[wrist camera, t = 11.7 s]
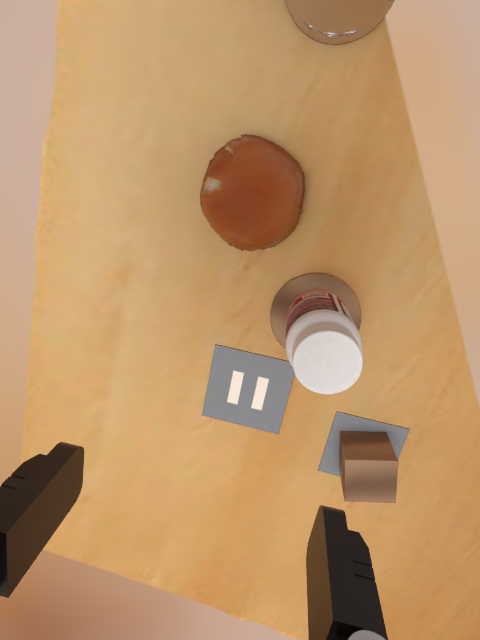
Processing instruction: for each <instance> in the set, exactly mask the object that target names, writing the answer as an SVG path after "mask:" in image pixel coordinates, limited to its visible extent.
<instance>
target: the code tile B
mask: <svg viewBox="0 0 480 640" xmlns="http://www.w3.org/2000/svg"><path fill="white" fill-rule="evenodd" d="M409 430H410V429H407V428H403V427H399V426H395V425H390V424H386V423H382V422H378V421H374V420H370V419H365V418H361V417H357V416H353V415H349V414H344V413H340V412H336V415H335V418H334V421H333V424H332V428H331V431H330V434H329V437H328V440H327V443H326V447H325V450H324V453H323V456H322V459H321V462H320V465H319V469H318V471H321V472H325V473H329V474H333V475H337V476H340V471H339V438H340V431H359V432H387V434H388V437H389V439H390V442H391V444H392V447H393V449H394V452H395V455H396V457H397V460H398V458H399V455H400V453H401V450H402V447H403V445H404V442H405V440H406V437H407V435H408V432H409Z"/></svg>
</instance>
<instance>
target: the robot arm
mask: <svg viewBox="0 0 480 640" xmlns="http://www.w3.org/2000/svg"><path fill="white" fill-rule="evenodd" d="M393 2H394V0H286V4H287V6H288V9H289V12H290V15H291V16H292V18H293V20H294V21H295V23H296V24H297V26H298V27H299V28H300V29H301V30H302V31H303V32H304V33H305V34H306V35H308V36H310V37H311V38H313V39H314V40H317V41H320V42H323V43H326V44H342V43H348V42H351V41H354V40H356V39H358V38H361V37H363V36H364V35H366V34H367V33H368V32H370V31H371V30H373V29H374V28H375V27H376V26H377V25H378V24H379V23H380V22H381V21H382V19H383V18H384V17H385V15H386V14H387V12H388V11H389V9H390V8H391V6H392V4H393ZM83 464H84V448H83V447H81V446H76V445H72V444H68V443H64V442H60V443H58V444H57V445H56V446H55V447H54V448H53V449H52V450H51V451H50V452H49V454H48V455H42V454H38V455H36V456H35V457H33V458H31V459H29V460H27V461H25V462H24V463H22V464H21V465H20V466H19V468H17V470H15V472H13V473H12V475H11V477H8V479H6V480H5V481H4V482H3V483H2V485H1V487H0V596H4V597H7V598H9V596H10V594H11V593H12V592H13V590H14V589H15V587H16V586H17V585H18V583H19V582H20V580H21V579H22V577H23V576H24V575H25V573H26V572H27V570H28V569H29V568H30V566H31V565H32V563H33V562H34V561H35V559H36V558H37V556H38V554H39V553H40V552H41V551H42V549H43V548H44V546H45V545H46V544H47V542H48V541H49V539H50V538H51V536H52V535H53V534H54V532H55V531H56V529H57V528H58V526H59V525H60V524H61V522H62V521H63V519H64V518H65V517H66V515H67V514H68V512H69V511H70V509H71V508H72V507H73V505H74V504H75V502H76V500H77V499H78V496H79V494H80V491H81V488H82V483H83ZM306 569H307V598H308V628H309V640H388V637H387V634H386V629H385V624H384V619H383V614H382V610H381V605H380V600H379V595H378V591H377V586H376V582H375V576H374V572H373V568H372V562H371V557H370V553H369V548H368V547H367V545H366V543H365V542H364V540H363V538H362V537H361V535H360V533H359V532H355V531H351V530H348V528H347V522H346V516H345V512H344V511H343V510H339V509H335V508H331V507H327V506H322V505H321V506H320V507H319V509H318V512H317V515H316V519H315V522H314V525H313V528H312V532H311V535H310V538H309V542H308V547H307V556H306Z"/></svg>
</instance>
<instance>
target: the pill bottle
mask: <svg viewBox="0 0 480 640" xmlns="http://www.w3.org/2000/svg"><path fill="white" fill-rule="evenodd" d="M285 344H286V354H287V357H288V360H289V362H290V364H291V365H292V367H293V370H294V373H295V375H296V377H297V379H298V380H299V382H300V383H301V384H302V385H303V386H305V387H306V388H307V389H309V390H311V391H313V392H316V393H320V394H335V393H339V392H342V391H344V390H346V389H347V388H349V387H350V386H352V385H353V384H354V383H355V382H356V380H357V379H358V378H359V376H360V374H361V371H362V367H363V357H362V353H361V350H362V342H361V337H360V334H359V331H358V329H357V327H356V325H355V323H354V321H353V319H352V317H351V315H350V313H349V311H348V309H347V307H346V306H345V304H344V303H343V301H342V300H341V299H340V298H339V297H337V296H336V295H334V294H333V293H330V292H328V291H324V290H313V291H309V292H306V293H304V294H302V295H300V296H299V297H297V298H296V299H295V300H294V301H293V303H292V304H291V305H290V307H289V310H288V312H287V317H286V342H285Z"/></svg>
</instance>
